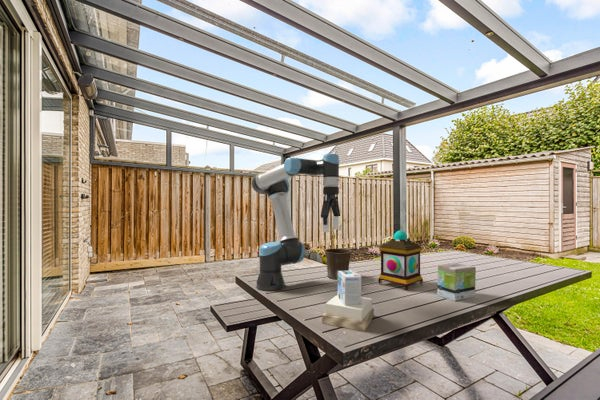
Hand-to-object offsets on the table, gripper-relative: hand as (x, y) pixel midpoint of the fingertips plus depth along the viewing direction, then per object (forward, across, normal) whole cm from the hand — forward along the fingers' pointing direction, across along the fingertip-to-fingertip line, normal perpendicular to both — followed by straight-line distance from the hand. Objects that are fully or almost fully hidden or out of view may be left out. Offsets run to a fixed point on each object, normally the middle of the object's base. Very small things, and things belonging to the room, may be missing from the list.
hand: (330, 230), depth 143 cm
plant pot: (+32, +37, +9) cm, 50 cm away
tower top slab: (+29, -22, -16) cm, 39 cm away
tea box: (+32, +28, -54) cm, 69 cm away
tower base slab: (+33, -22, -16) cm, 42 cm away
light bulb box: (+25, -22, -16) cm, 37 cm away
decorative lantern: (+32, +37, -27) cm, 56 cm away
